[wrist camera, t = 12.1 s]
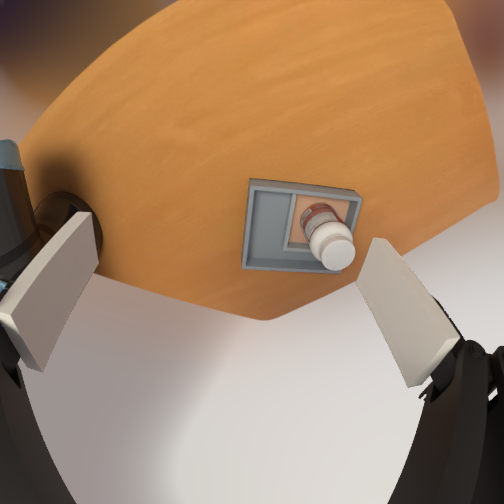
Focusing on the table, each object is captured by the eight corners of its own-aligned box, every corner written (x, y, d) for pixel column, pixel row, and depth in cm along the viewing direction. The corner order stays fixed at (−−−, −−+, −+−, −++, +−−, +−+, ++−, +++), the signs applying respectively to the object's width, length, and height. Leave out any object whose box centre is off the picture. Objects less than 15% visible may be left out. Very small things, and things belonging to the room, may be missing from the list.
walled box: (241, 257, 49) (241, 268, 46) (249, 178, 41) (250, 185, 39) (334, 262, 50) (340, 273, 47) (354, 190, 43) (362, 198, 40)
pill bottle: (336, 231, 46) (360, 270, 37) (301, 238, 46) (317, 280, 37) (334, 197, 43) (361, 230, 33) (296, 204, 43) (313, 240, 34)
